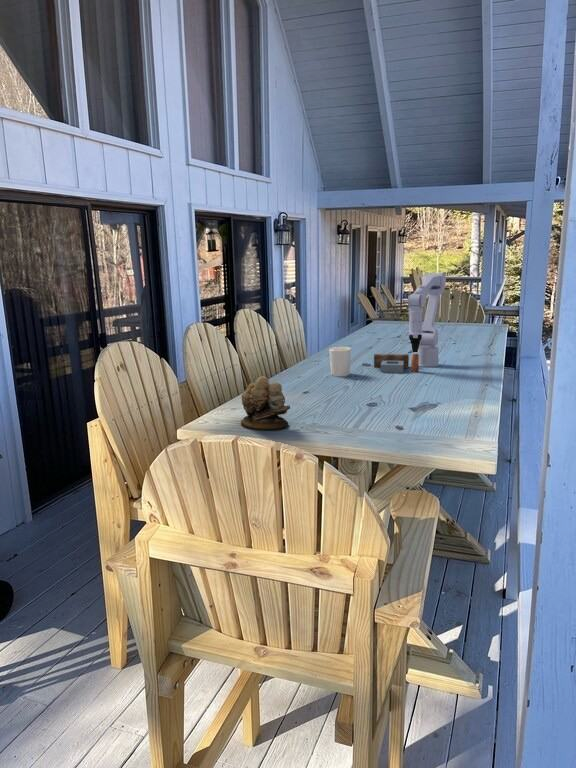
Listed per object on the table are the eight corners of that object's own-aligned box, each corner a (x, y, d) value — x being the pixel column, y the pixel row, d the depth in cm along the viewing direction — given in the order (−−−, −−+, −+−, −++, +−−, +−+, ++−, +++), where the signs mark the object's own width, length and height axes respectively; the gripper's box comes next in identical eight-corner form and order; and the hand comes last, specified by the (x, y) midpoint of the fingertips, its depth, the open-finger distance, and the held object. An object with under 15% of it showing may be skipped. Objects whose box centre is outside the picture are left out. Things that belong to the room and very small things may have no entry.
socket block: (403, 368, 257) (403, 360, 256) (403, 373, 247) (403, 365, 246) (382, 368, 259) (382, 360, 258) (380, 373, 250) (380, 364, 249)
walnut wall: (408, 366, 259) (408, 354, 258) (408, 368, 256) (408, 355, 255) (374, 366, 263) (374, 354, 261) (373, 367, 260) (373, 355, 258)
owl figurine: (297, 422, 184) (295, 373, 179) (282, 434, 173) (280, 382, 169) (250, 417, 191) (248, 369, 187) (233, 427, 181) (230, 377, 177)
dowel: (418, 371, 250) (418, 353, 248) (418, 372, 247) (418, 355, 245) (411, 370, 250) (411, 353, 248) (411, 372, 247) (411, 355, 245)
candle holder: (343, 378, 242) (343, 351, 239) (325, 375, 248) (324, 349, 245) (355, 373, 249) (354, 347, 246) (336, 371, 255) (336, 346, 252)
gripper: (406, 319, 251) (406, 348, 254) (406, 323, 237) (405, 354, 240) (422, 319, 249) (422, 348, 252) (422, 323, 235) (422, 354, 239)
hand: (415, 351), depth 246 cm, fingers open, 3 cm apart
